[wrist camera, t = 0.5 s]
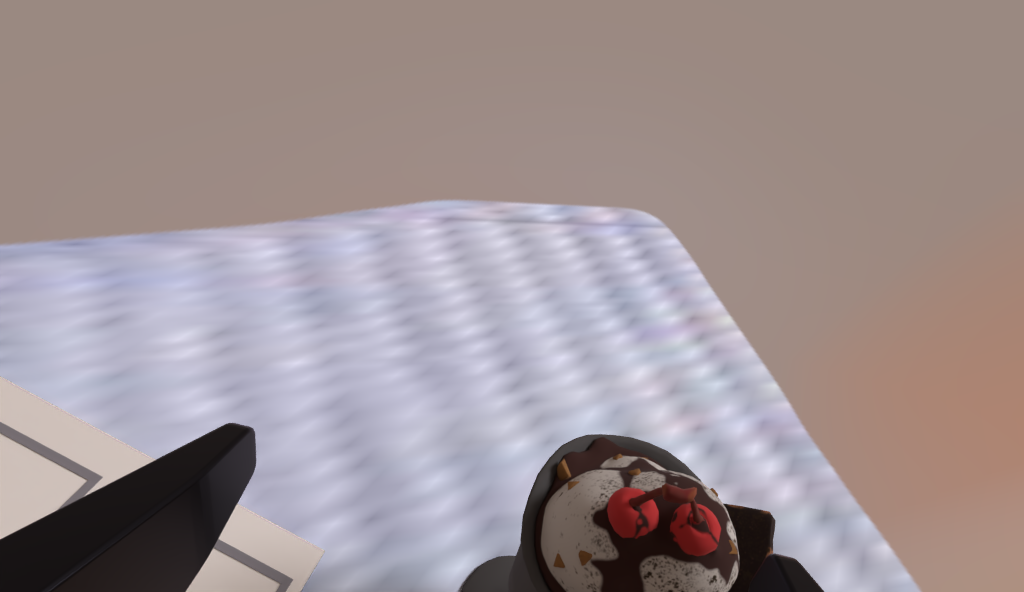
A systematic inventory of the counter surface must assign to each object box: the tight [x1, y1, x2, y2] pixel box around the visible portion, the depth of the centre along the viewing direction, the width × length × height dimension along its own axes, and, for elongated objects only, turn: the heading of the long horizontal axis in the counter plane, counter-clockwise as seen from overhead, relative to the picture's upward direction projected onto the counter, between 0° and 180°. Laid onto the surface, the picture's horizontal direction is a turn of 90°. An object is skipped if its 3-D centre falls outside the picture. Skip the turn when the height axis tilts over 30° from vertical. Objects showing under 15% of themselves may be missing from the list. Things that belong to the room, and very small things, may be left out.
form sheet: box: [0, 377, 325, 592], centre depth 18 cm, size 10×16×1 cm, turn 68°
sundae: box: [462, 434, 775, 592], centre depth 17 cm, size 7×7×15 cm
